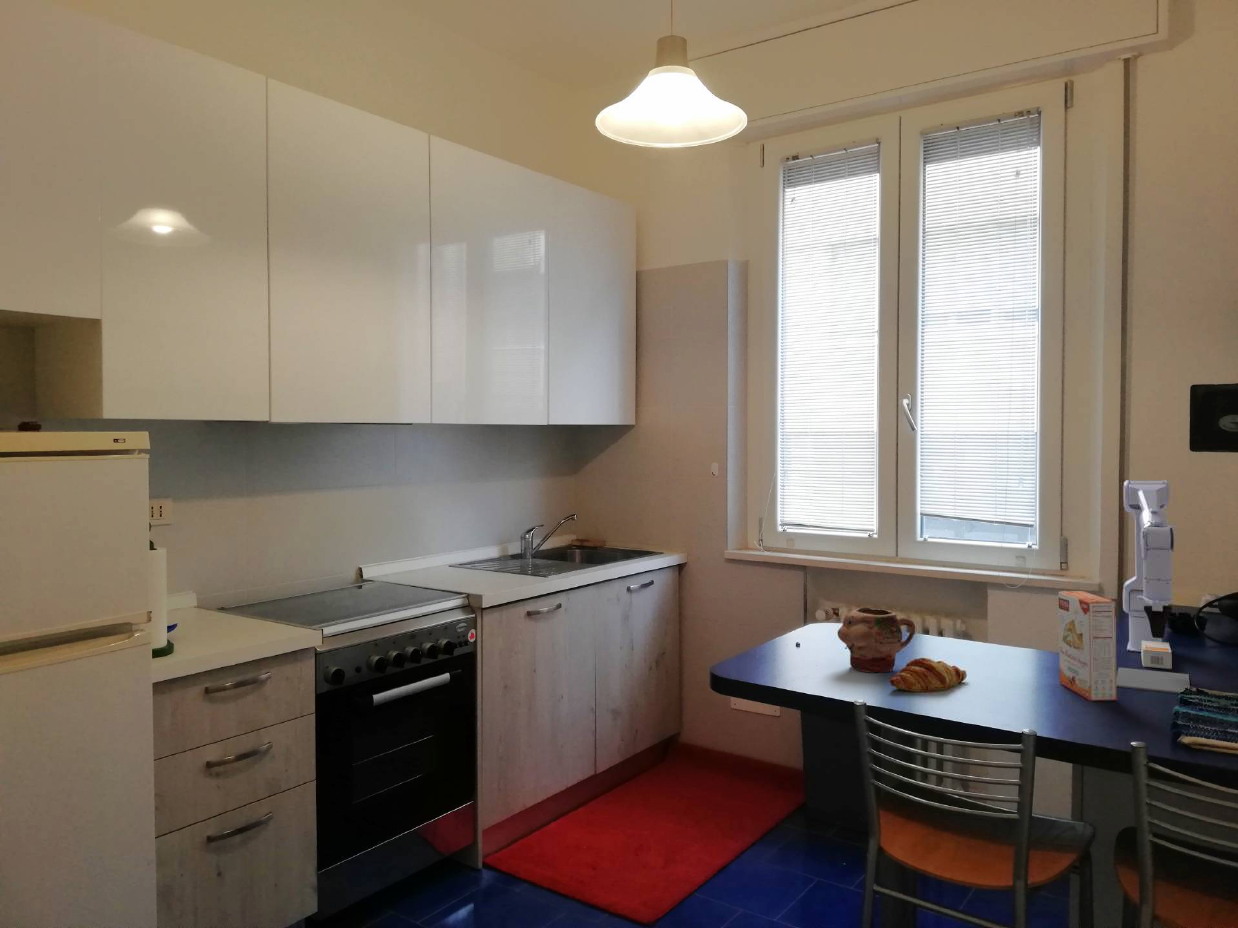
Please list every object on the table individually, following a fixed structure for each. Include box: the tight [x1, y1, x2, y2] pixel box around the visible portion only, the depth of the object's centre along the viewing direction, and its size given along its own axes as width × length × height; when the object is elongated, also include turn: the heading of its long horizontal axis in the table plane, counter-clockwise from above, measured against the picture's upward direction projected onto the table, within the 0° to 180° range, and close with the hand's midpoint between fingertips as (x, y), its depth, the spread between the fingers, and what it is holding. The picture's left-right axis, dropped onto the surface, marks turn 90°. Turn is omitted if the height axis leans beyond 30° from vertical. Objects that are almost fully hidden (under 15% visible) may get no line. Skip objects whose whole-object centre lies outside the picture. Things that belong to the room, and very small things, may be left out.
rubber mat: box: [1116, 667, 1191, 695], centre depth 203 cm, size 18×14×1 cm
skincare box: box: [1140, 640, 1173, 670], centre depth 220 cm, size 6×4×12 cm
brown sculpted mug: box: [837, 607, 916, 673], centre depth 218 cm, size 20×12×14 cm, turn 108°
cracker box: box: [1058, 590, 1118, 702], centre depth 194 cm, size 14×6×21 cm, turn 178°
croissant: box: [889, 657, 968, 693], centre depth 201 cm, size 21×10×8 cm, turn 115°
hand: (1157, 637), depth 209 cm, fingers closed
